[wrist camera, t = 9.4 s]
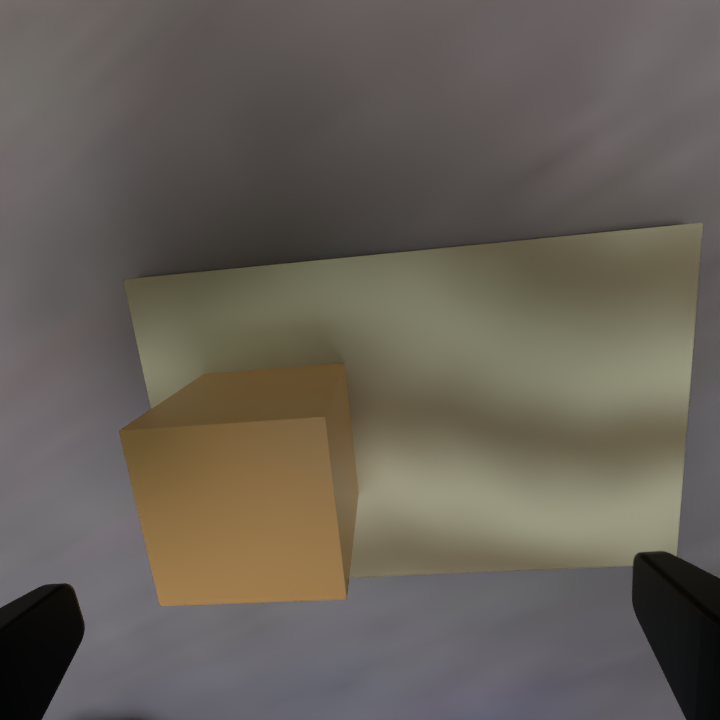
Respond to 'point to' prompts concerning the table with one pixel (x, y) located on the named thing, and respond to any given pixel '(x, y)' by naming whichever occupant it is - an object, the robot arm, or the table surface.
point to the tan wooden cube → (248, 487)
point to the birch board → (472, 387)
